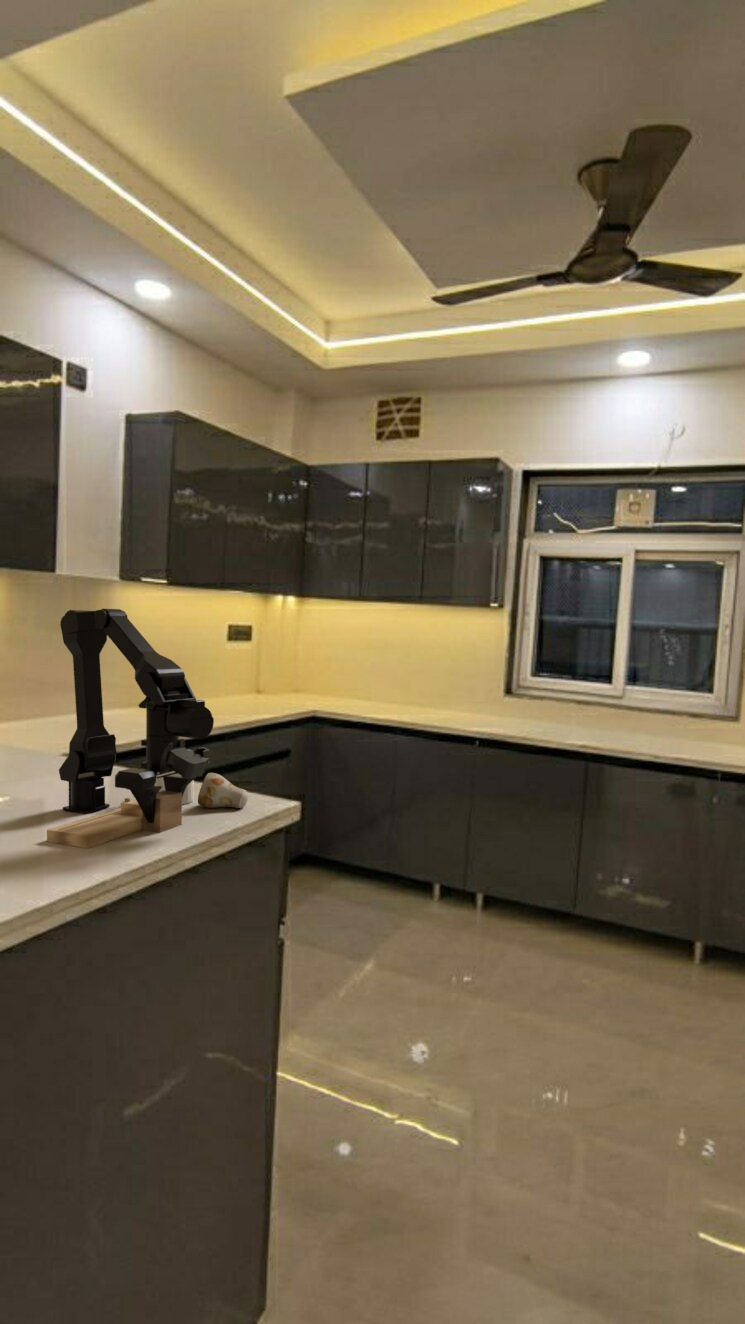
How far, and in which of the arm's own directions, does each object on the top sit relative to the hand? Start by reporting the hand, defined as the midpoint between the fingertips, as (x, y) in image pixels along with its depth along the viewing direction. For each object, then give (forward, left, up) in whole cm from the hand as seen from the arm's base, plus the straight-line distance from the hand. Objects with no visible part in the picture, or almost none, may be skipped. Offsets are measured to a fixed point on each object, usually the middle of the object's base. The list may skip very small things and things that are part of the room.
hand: (162, 818), depth 137 cm
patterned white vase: (+1, +18, -2) cm, 18 cm away
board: (-7, -5, -2) cm, 9 cm away
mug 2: (-12, +19, -2) cm, 23 cm away
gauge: (-3, 0, -1) cm, 4 cm away
